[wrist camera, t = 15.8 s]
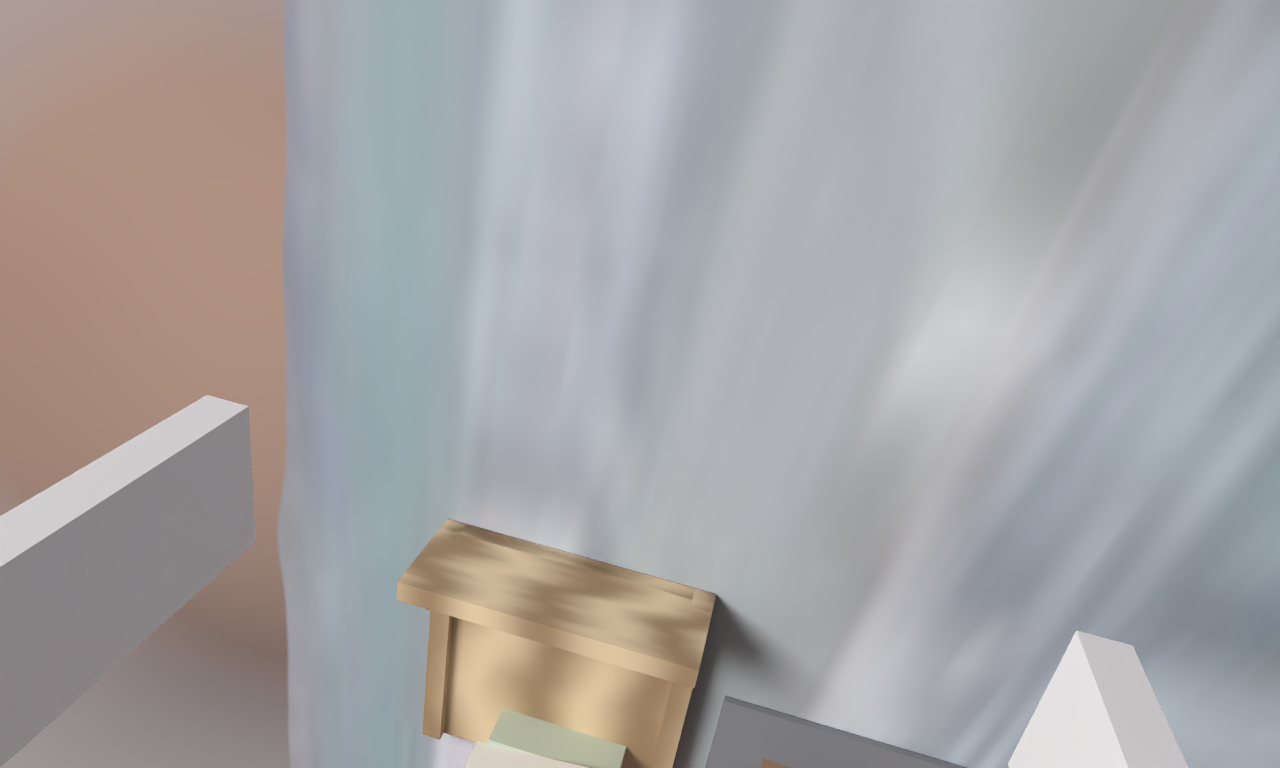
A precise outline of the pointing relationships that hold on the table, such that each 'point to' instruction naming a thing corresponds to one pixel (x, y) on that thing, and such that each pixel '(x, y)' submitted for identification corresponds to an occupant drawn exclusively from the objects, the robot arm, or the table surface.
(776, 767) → the walnut board
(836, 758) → the rubber mat
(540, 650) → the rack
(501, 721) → the offcut lower
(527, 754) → the offcut upper
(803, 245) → the table surface
